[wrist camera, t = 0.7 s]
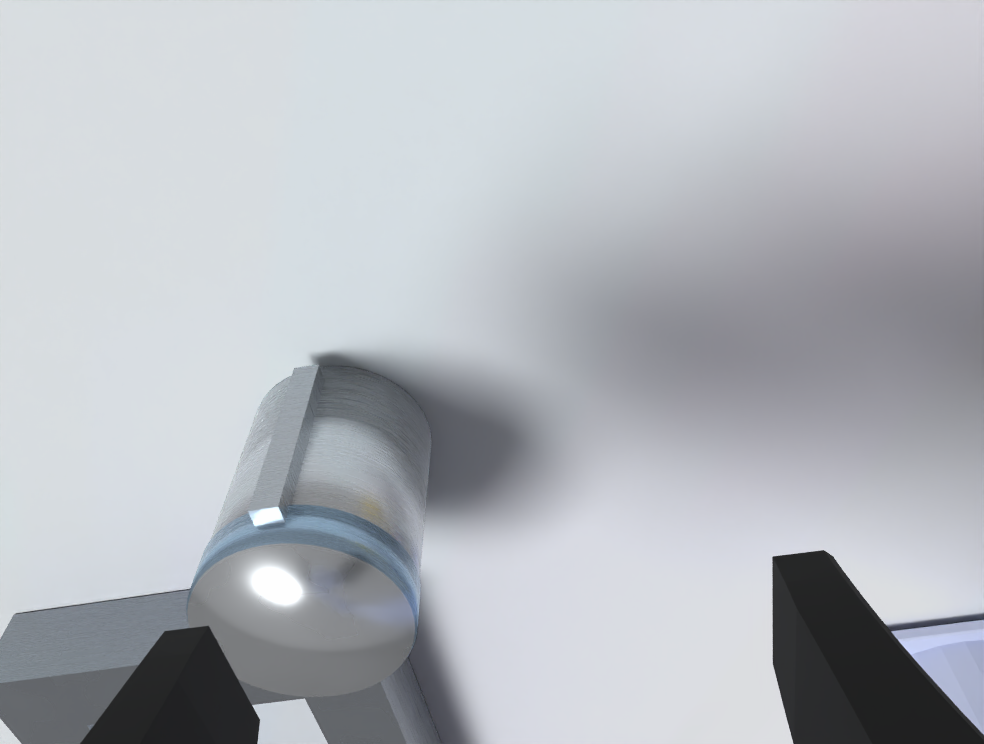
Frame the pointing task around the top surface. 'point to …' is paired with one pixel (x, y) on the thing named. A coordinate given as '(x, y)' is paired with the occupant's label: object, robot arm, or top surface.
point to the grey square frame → (120, 649)
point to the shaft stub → (320, 537)
